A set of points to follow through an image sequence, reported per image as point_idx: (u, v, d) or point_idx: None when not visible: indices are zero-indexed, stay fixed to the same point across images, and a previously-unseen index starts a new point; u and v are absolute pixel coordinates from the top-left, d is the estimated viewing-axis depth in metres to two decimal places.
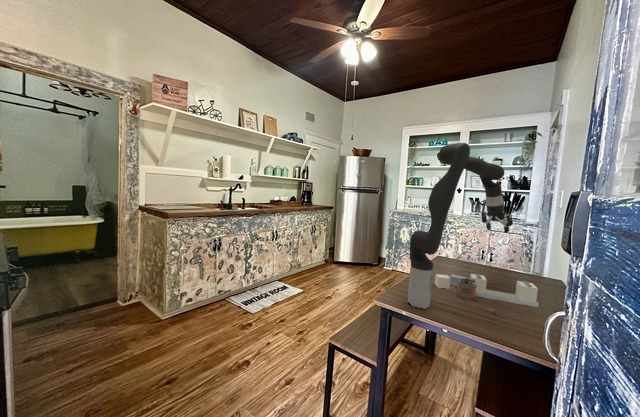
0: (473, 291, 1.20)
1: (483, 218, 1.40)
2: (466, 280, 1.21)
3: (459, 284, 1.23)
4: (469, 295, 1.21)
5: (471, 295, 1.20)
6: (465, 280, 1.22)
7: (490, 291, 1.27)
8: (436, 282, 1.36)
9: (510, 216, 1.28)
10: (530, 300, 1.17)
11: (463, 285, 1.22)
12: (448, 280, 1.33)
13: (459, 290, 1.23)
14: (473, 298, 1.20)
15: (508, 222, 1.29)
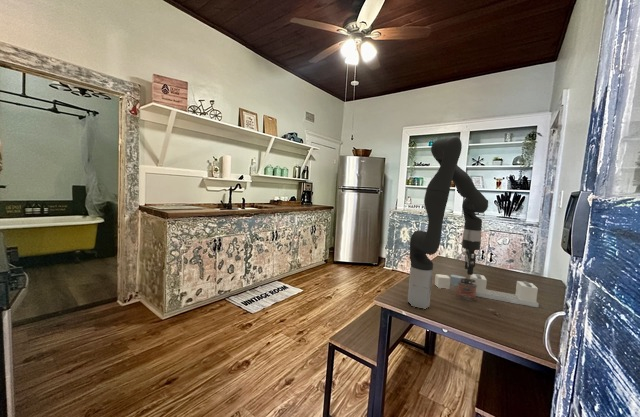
0: (473, 291, 1.20)
1: None
2: (466, 280, 1.21)
3: (459, 284, 1.23)
4: (469, 295, 1.21)
5: (471, 295, 1.20)
6: (465, 280, 1.22)
7: (490, 291, 1.27)
8: (436, 282, 1.36)
9: (473, 256, 1.14)
10: (530, 300, 1.17)
11: (463, 285, 1.22)
12: (448, 280, 1.33)
13: (459, 290, 1.23)
14: (473, 298, 1.20)
15: (468, 261, 1.16)
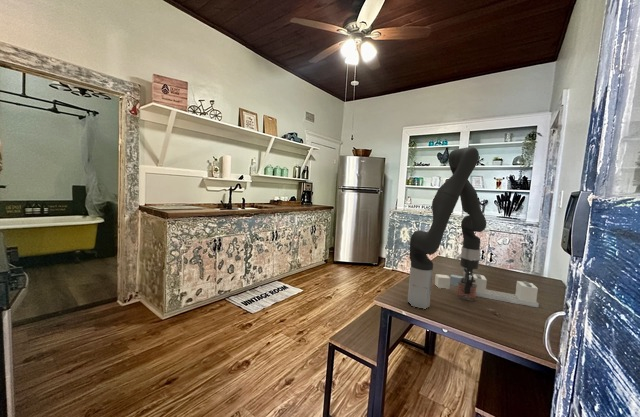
0: (473, 291, 1.20)
1: None
2: None
3: (459, 284, 1.23)
4: (470, 295, 1.21)
5: (471, 295, 1.20)
6: None
7: (490, 291, 1.27)
8: (436, 282, 1.36)
9: (470, 278, 1.16)
10: (530, 300, 1.17)
11: (463, 285, 1.22)
12: (448, 280, 1.33)
13: (459, 290, 1.23)
14: (473, 298, 1.20)
15: (466, 281, 1.18)
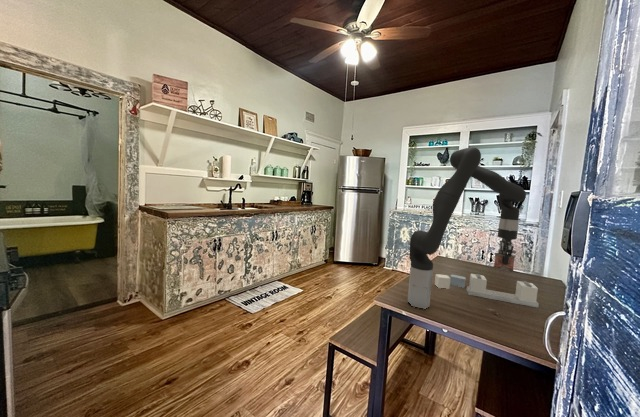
0: (511, 261, 1.21)
1: None
2: None
3: (497, 255, 1.23)
4: (508, 266, 1.21)
5: (509, 266, 1.21)
6: None
7: (490, 291, 1.27)
8: (436, 282, 1.36)
9: (510, 248, 1.16)
10: (530, 300, 1.17)
11: (501, 256, 1.22)
12: (448, 280, 1.33)
13: (497, 261, 1.24)
14: (511, 269, 1.21)
15: (505, 251, 1.19)
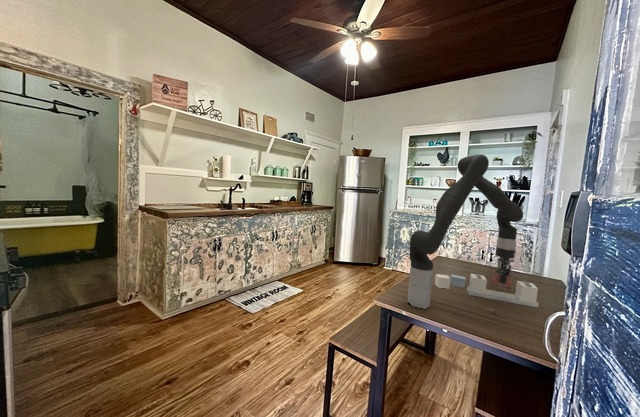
0: (509, 280, 1.22)
1: (498, 264, 1.28)
2: None
3: (495, 274, 1.24)
4: (505, 284, 1.22)
5: (507, 284, 1.22)
6: None
7: (490, 291, 1.27)
8: (436, 282, 1.36)
9: (508, 267, 1.17)
10: (530, 300, 1.17)
11: (499, 274, 1.23)
12: (448, 280, 1.33)
13: (495, 279, 1.24)
14: (509, 287, 1.22)
15: (503, 271, 1.19)
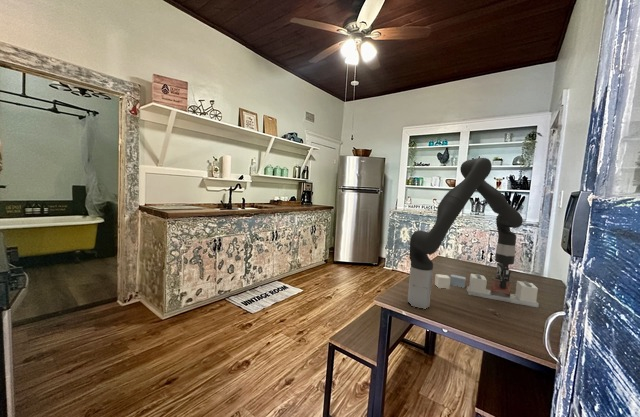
0: (508, 287, 1.22)
1: (497, 269, 1.29)
2: None
3: (494, 280, 1.25)
4: (505, 291, 1.22)
5: (506, 291, 1.22)
6: (500, 276, 1.24)
7: (490, 291, 1.27)
8: (436, 282, 1.36)
9: (507, 272, 1.17)
10: (530, 300, 1.17)
11: (498, 281, 1.23)
12: (448, 280, 1.33)
13: (494, 286, 1.25)
14: (508, 294, 1.22)
15: (502, 276, 1.19)
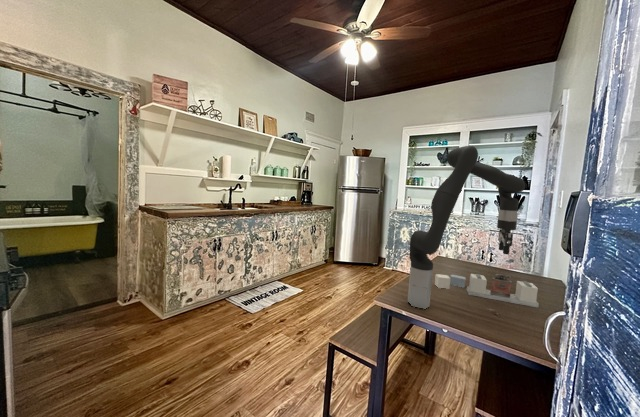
0: (508, 287, 1.22)
1: (499, 235, 1.29)
2: (501, 276, 1.23)
3: (494, 280, 1.24)
4: (505, 291, 1.22)
5: (506, 291, 1.22)
6: (500, 276, 1.24)
7: (490, 291, 1.27)
8: (436, 282, 1.36)
9: (510, 235, 1.17)
10: (530, 300, 1.17)
11: (498, 281, 1.23)
12: (448, 280, 1.33)
13: (494, 286, 1.25)
14: (508, 294, 1.22)
15: (505, 240, 1.18)
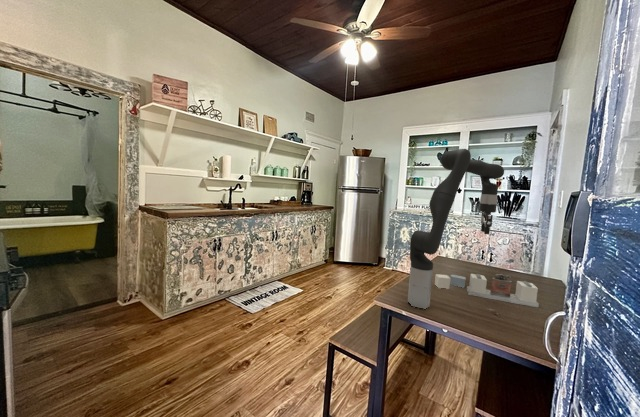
0: (508, 287, 1.22)
1: (481, 218, 1.41)
2: (501, 276, 1.23)
3: (494, 280, 1.24)
4: (505, 291, 1.22)
5: (506, 291, 1.22)
6: (500, 276, 1.24)
7: (490, 291, 1.27)
8: (436, 282, 1.36)
9: (490, 216, 1.29)
10: (530, 300, 1.17)
11: (498, 281, 1.23)
12: (448, 280, 1.33)
13: (494, 286, 1.25)
14: (508, 294, 1.22)
15: (486, 221, 1.30)
